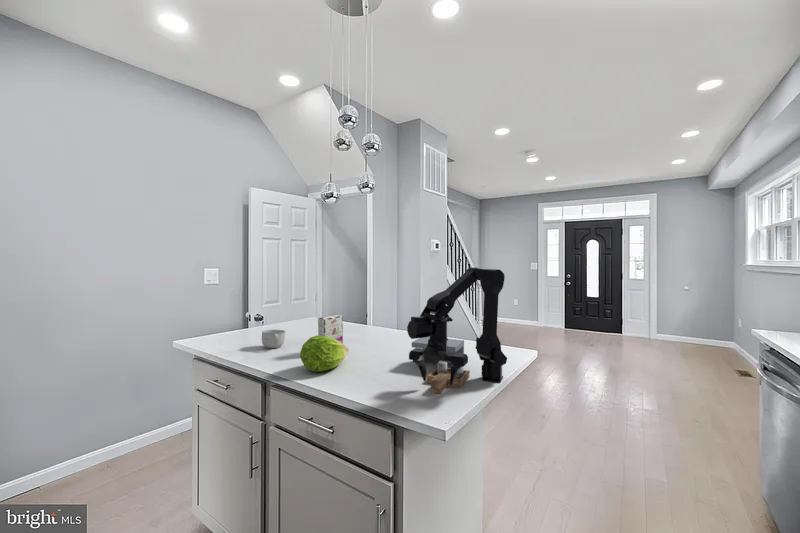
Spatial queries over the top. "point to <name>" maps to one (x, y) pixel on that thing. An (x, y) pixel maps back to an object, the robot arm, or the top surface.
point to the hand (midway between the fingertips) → (437, 382)
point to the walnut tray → (446, 377)
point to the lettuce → (322, 353)
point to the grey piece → (452, 346)
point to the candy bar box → (331, 327)
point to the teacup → (273, 338)
